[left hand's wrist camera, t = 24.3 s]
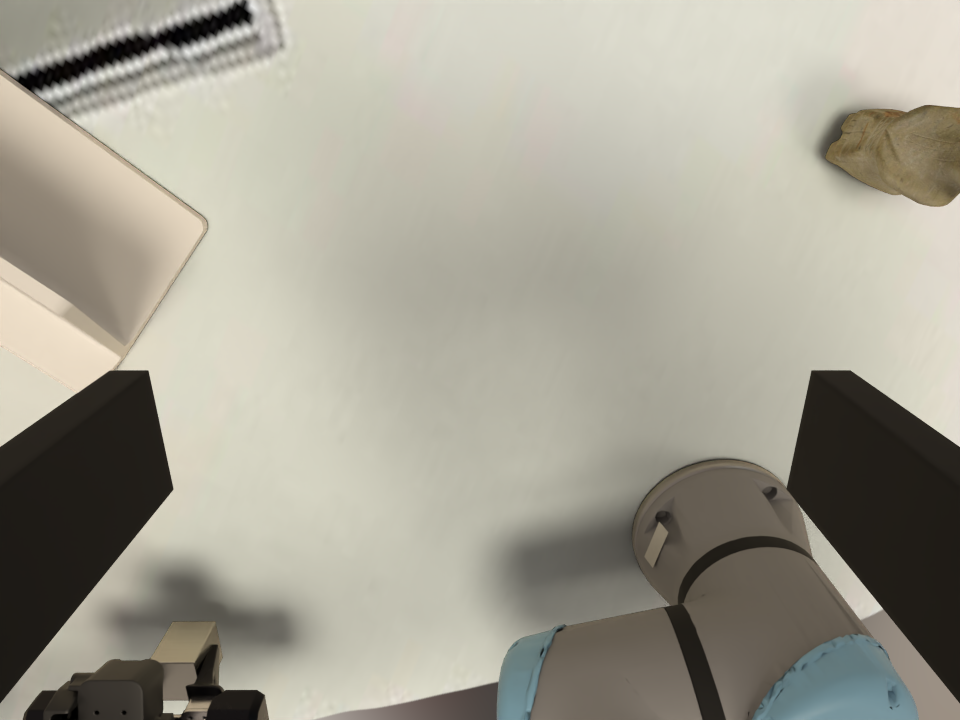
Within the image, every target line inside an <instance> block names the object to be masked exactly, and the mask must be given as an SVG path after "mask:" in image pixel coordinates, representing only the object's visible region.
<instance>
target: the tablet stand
mask: <svg viewBox="0 0 960 720" xmlns="http://www.w3.org/2000/svg"><path fill="white" fill-rule="evenodd" d="M207 228H208V225H207V222H206V220H205V219H204V217H202V216H201V215H200V214H198V213H197V212H196V211H194V210H193V209H191V208H190V207H189V206H187V205H186V204H185V203H183V202H182V201H180V200H179V199H178V198H176V197H175V196H174V195H172V194H171V193H169V192H168V191H167V190H165V189H164V188H163V187H161V186H160V185H158V184H157V183H156V182H154V181H153V180H152V179H150V178H149V177H147V176H146V175H145V174H143V173H142V172H141V171H139V170H138V169H136V168H135V167H134V166H132V165H131V164H130V163H128V162H127V161H125V160H124V159H123V158H121V157H120V156H119V155H117V154H116V153H114V152H113V151H112V150H110V149H109V148H108V147H106V146H105V145H103V144H102V143H101V142H99V141H98V140H97V139H95V138H94V137H92V136H91V135H90V134H88V133H87V132H86V131H84V130H83V129H81V128H80V127H79V126H77V125H76V124H75V123H73V122H72V121H70V120H69V119H68V118H66V117H65V116H64V115H62V114H61V113H59V112H58V111H57V110H55V109H54V108H53V107H51V106H50V105H48V104H47V103H46V102H44V101H43V100H42V99H40V98H39V97H38V96H36V95H35V94H33V93H32V92H31V91H29V90H28V89H27V88H25V87H24V86H22V85H21V84H20V83H18V82H17V81H16V80H14V79H13V78H11V77H10V76H9V75H7V74H6V73H5V72H3V71H2V70H0V346H2V347H4V348H5V349H7V350H8V351H10V352H12V353H13V354H15V355H16V356H18V357H20V358H21V359H23V360H24V361H26V362H28V363H29V364H31V365H33V366H34V367H36V368H37V369H39V370H41V371H42V372H44V373H45V374H47V375H49V376H50V377H52V378H53V379H55V380H57V381H58V382H60V383H62V384H63V385H65V386H66V387H68V388H70V389H71V390H73V391H74V392H76V393H78V392H80V391H81V390H83V389H84V388H85V387H87V386H88V385H90V384H91V383H93V382H94V381H95V380H97V379H98V378H100V377H101V376H103V375H104V374H105V373H107V372H108V371H114V370H115V368H116V367H117V366H118V365H119V364H120V362H121V361H122V360H123V359H124V357H125V356H126V354H127V353H128V351H129V350H130V348H131V347H132V345H133V344H134V342H135V340H136V339H137V337H138V336H139V334H140V333H141V331H142V330H143V328H144V327H145V325H146V323H147V322H148V320H149V319H150V317H151V316H152V314H153V313H154V311H155V310H156V308H157V307H158V305H159V303H160V302H161V300H162V299H163V297H164V296H165V294H166V293H167V291H168V290H169V288H170V286H171V285H172V283H173V282H174V280H175V279H176V277H177V276H178V274H179V273H180V271H181V270H182V268H183V266H184V265H185V263H186V262H187V260H188V259H189V257H190V256H191V254H192V253H193V251H194V250H195V248H196V246H197V245H198V243H199V242H200V240H201V239H202V237H203V236H204V234H205V233H206V231H207Z"/></svg>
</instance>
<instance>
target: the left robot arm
mask: <svg viewBox="0 0 960 720" xmlns="http://www.w3.org/2000/svg"><path fill="white" fill-rule="evenodd" d="M172 491H173V485H172V480H171V475H170V471H169V466H168V461H167V456H166V452H165V447H164V442H163V437H162V433H161V428H160V423H159V419H158V414H157V409H156V404H155V400H154V395H153V390H152V385H151V381H150V376H149V371H108V372H107V373H105V374H104V375H103V376H101V377H100V378H98V379H97V380H95V381H94V382H93V383H91V384H90V385H88V386H87V387H85V388H84V389H83V390H81V391H80V392H78V393H77V394H75V395H74V396H73V397H71V398H70V399H68V400H67V401H65V402H64V403H63V404H61V405H60V406H58V407H57V408H55V409H54V410H53V411H51V412H50V413H48V414H47V415H45V416H44V417H43V418H41V419H40V420H38V421H37V422H35V423H34V424H33V425H31V426H30V427H28V428H27V429H25V430H24V431H23V432H21V433H20V434H18V435H17V436H15V437H14V438H13V439H11V440H10V441H8V442H7V443H5V444H4V445H3V446H1V447H0V703H1V702H2V700H3V699H4V698H5V697H6V695H7V694H8V693H9V692H10V690H11V689H12V688H13V687H14V686H15V684H16V683H17V682H18V681H19V679H20V678H21V677H22V676H23V674H24V673H25V672H26V671H27V670H28V668H29V667H30V666H31V665H32V663H33V662H34V661H35V660H36V658H37V657H38V656H39V655H40V653H41V652H42V651H43V650H44V649H45V647H46V646H47V645H48V644H49V642H50V641H51V640H52V639H53V637H54V636H55V635H56V634H57V632H58V631H59V630H60V629H61V628H62V626H63V625H64V624H65V623H66V621H67V620H68V619H69V618H70V616H71V615H72V614H73V613H74V612H75V610H76V609H77V608H78V607H79V605H80V604H81V603H82V602H83V600H84V599H85V598H86V597H87V595H88V594H89V593H90V592H91V591H92V589H93V588H94V587H95V586H96V584H97V583H98V582H99V581H100V579H101V578H102V577H103V576H104V575H105V573H106V572H107V571H108V570H109V568H110V567H111V566H112V565H113V563H114V562H115V561H116V560H117V558H118V557H119V556H120V555H121V554H122V552H123V551H124V550H125V549H126V547H127V546H128V545H129V544H130V542H131V541H132V540H133V539H134V537H135V536H136V535H137V534H138V533H139V531H140V530H141V529H142V528H143V526H144V525H145V524H146V523H147V521H148V520H149V519H150V518H151V517H152V515H153V514H154V513H155V512H156V510H157V509H158V508H159V507H160V505H161V504H162V503H163V502H164V500H165V499H166V498H167V497H168V496H169V494H170V493H171V492H172ZM797 503H798V504H799V505H800V507H801V508H802V509H803V510H804V512H805V513H806V514H807V515H808V517H809V518H810V519H811V520H812V521H813V523H814V524H815V525H816V526H817V528H818V529H819V530H820V531H821V533H822V534H823V535H824V536H825V537H826V539H827V540H828V541H829V542H830V544H831V545H832V546H833V547H834V549H835V550H836V551H837V552H838V554H839V555H840V556H841V557H842V558H843V560H844V561H845V562H846V563H847V565H848V566H849V567H850V568H851V570H852V571H853V572H854V573H855V575H856V576H857V577H858V578H859V579H860V581H861V582H862V583H863V584H864V586H865V587H866V588H867V589H868V591H869V592H870V593H871V594H872V595H873V597H874V598H875V599H876V600H877V602H878V603H879V604H880V605H881V607H882V608H883V609H884V610H885V612H886V613H887V614H888V615H889V616H890V618H891V619H892V620H893V621H894V623H895V624H896V625H897V626H898V628H899V629H900V630H901V631H902V632H903V634H904V635H905V636H906V637H907V639H908V640H909V641H910V642H911V643H912V645H913V646H914V647H915V648H916V650H917V651H918V652H919V653H920V655H921V656H922V657H923V658H924V660H925V661H926V662H927V663H928V665H929V666H930V667H931V668H932V670H933V671H934V672H935V673H936V674H937V676H938V677H939V678H940V679H941V681H942V682H943V683H944V684H945V686H946V687H947V688H948V689H949V690H950V692H951V693H952V694H953V695H954V697H955V698H956V699H957V700H958V702H959V703H960V447H959V446H957V445H956V444H955V443H953V442H952V441H950V440H949V439H947V438H946V437H945V436H943V435H942V434H940V433H939V432H937V431H936V430H935V429H933V428H932V427H930V426H929V425H927V424H926V423H925V422H923V421H922V420H920V419H919V418H917V417H916V416H915V415H913V414H912V413H910V412H909V411H907V410H906V409H905V408H903V407H902V406H900V405H899V404H897V403H896V402H895V401H893V400H892V399H890V398H889V397H887V396H886V395H885V394H883V393H882V392H880V391H879V390H877V389H876V388H875V387H873V386H872V385H870V384H869V383H867V382H866V381H865V380H863V379H862V378H860V377H859V376H857V375H856V374H855V373H853V372H852V371H811V376H810V381H809V385H808V390H807V395H806V400H805V404H804V409H803V414H802V419H801V423H800V428H799V433H798V437H797V442H796V447H795V452H794V456H793V461H792V466H791V471H790V475H789V480H788V485H787V488H786V487H785V486H784V484H783V483H782V482H781V481H780V480H779V479H778V478H777V477H776V476H774V475H773V474H772V473H770V472H769V471H767V470H765V469H763V468H761V467H759V466H757V465H754V464H751V463H747V462H743V461H737V460H713V461H706V462H701V463H698V464H694V465H691V466H688V467H686V468H684V469H681V470H679V471H677V472H675V473H674V474H672V475H670V476H669V477H667V478H666V479H664V480H663V481H662V482H660V483H659V484H658V485H657V486H656V487H655V488H654V489H653V490H652V491H651V492H650V493H649V494H648V495H647V497H646V498H645V499H644V501H643V502H642V504H641V506H640V507H639V509H638V512H637V514H636V516H635V520H634V523H633V528H632V543H633V549H634V552H635V555H636V558H637V561H638V564H639V566H640V568H641V570H642V572H643V574H644V575H645V577H646V578H647V580H648V581H649V583H650V584H651V585H652V586H653V588H654V589H655V590H656V591H657V592H658V593H659V594H660V595H661V596H662V597H663V598H664V599H665V600H666V601H667V602H668V603H669V604H670V605H671V606H668V607H661V608H656V609H651V610H646V611H641V612H636V613H631V614H626V615H621V616H616V617H611V618H606V619H601V620H596V621H591V622H586V623H581V624H576V625H571V626H566V625H565V624H564V625H558V626H556V627H555V628H553V629H552V630H550V631H547V632H543V633H539V634H535V635H531V636H527V637H523V638H521V639H519V640H517V641H516V642H515V643H514V644H513V645H512V646H511V647H510V649H509V650H508V652H507V654H506V656H505V658H504V660H503V663H502V667H501V672H500V677H499V685H498V697H497V720H919V717H918V712H917V708H916V705H915V702H914V699H913V697H912V695H911V693H910V691H909V690H908V688H907V687H906V685H905V684H904V682H903V681H902V679H901V678H900V676H899V675H898V673H897V672H896V670H895V669H894V667H893V666H892V663H891V661H890V659H889V656H888V654H887V652H886V650H885V649H884V648H883V646H882V645H881V644H880V643H879V642H878V641H877V640H875V639H874V638H873V636H872V635H871V634H870V633H869V631H868V630H867V629H866V627H865V626H864V625H863V623H862V622H861V621H860V619H859V618H858V617H857V615H856V614H855V613H854V612H853V610H852V609H851V608H850V606H849V605H848V604H847V602H846V601H845V600H844V598H843V597H842V596H841V595H840V593H839V592H838V591H837V589H836V588H835V587H834V585H833V584H832V583H831V581H830V580H829V579H828V578H827V576H826V575H825V574H824V572H823V571H822V570H821V568H820V567H819V566H818V564H817V563H816V562H815V560H814V559H813V557H812V553H811V549H810V544H809V540H808V536H807V531H806V527H805V523H804V519H803V516H802V513H801V510H800V508H799V506H798V504H797Z"/></svg>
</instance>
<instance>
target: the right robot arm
mask: <svg viewBox="0 0 960 720" xmlns="http://www.w3.org/2000/svg"><path fill="white" fill-rule="evenodd" d="M219 655H220V652H219V646H218V644H214V645H213V647H212V648H211V650H210V651H209V653H208V654H207V656H206V658H205V661H204V663H203V665H202V667H201V670H200V672H199V674H198V676H197V679H196V681H195V683H194V684H190V685H187V686H186V691H187V696H188V700H189V703H188V705H187V707H186V709H185V710H184V711H183V713H182V714H180V715H173V713H163V678H164V669H163V666H162V665H161V663H159V662H158V661H156V660H153V659H151V658H150V659H145V660H142V661H121V660H120V659H114V660H110V661H108V662H107V663H105V664H104V665H103V666H102V667H101V668H100V669H98V670H97V671H96V672H95V673H75V674H73V676H72V678H71V681H68V682H67V683H65V684H64V685H63V686H62V687H60V688H59V689H58V690H57V691H42V692H41V693H40V694H39V695H38V696H37V697H36V698H35V700H34V701H33V702H32V704H31V705H30V706H29V708H28V709H27V710H26V712H25V713H24V717H23V720H269V717H268V711H267V705H266V700H265V695H264V694H262V693H261V692H259V691H258V690H225V691H224V689H223V688H222V687H221V686H219Z"/></svg>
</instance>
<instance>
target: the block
mask: <svg viewBox="0 0 960 720" xmlns="http://www.w3.org/2000/svg"><path fill="white" fill-rule="evenodd" d="M214 644H218V646H219V652H220V655H219V664H220V662H221V660H222V658H223V656H222V651H221V646H220V641H219V636H218V631H217V626H216V622H215V621H181V622H172V624H171V625H170V627H169V629H168V630H167V632H166V634H165V635H164V637H163V639H162V640H161V642H160V644H159V645H158V647H157V649H156V650H155V652H154V654H153V655H152V657H151V659H153V660H156V661H158V662H159V663H161V665H162V666H163V669H164V678H163V700H188V696H187V691H186V686H187V685H190V684H194V683H195V681H196V679H197V676H198V674H199V672H200V670H201V667H202V665H203V663H204V661H205V658H206V656H207V654H208V653H209V651H210V650H211V648H212V647H213V645H214Z"/></svg>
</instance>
